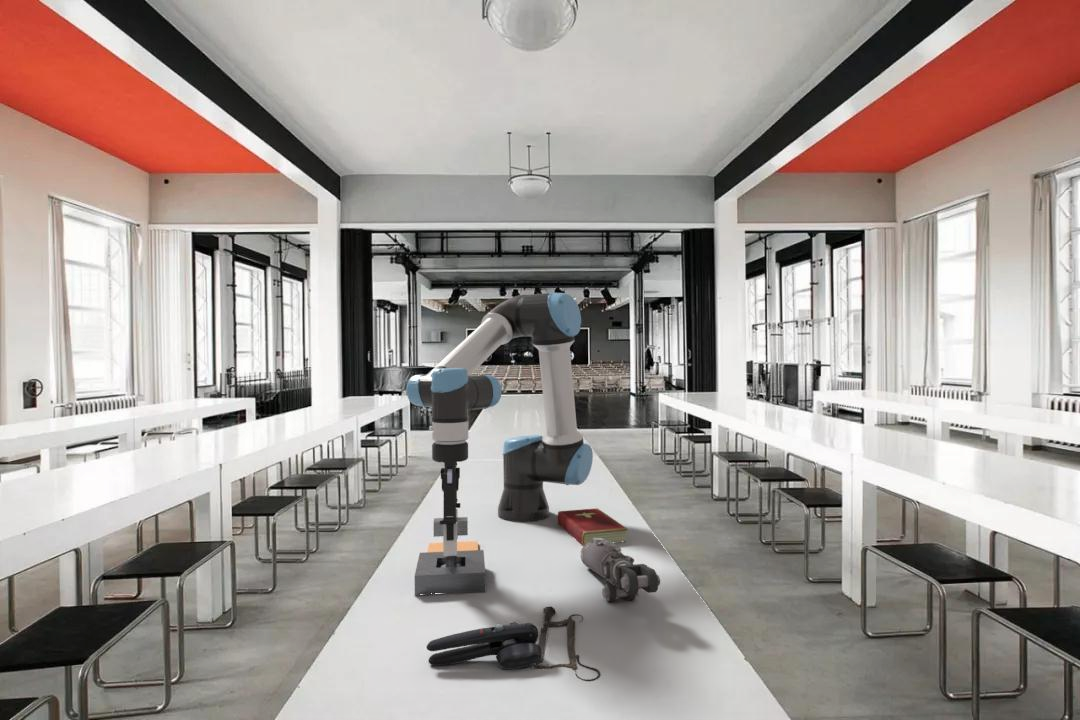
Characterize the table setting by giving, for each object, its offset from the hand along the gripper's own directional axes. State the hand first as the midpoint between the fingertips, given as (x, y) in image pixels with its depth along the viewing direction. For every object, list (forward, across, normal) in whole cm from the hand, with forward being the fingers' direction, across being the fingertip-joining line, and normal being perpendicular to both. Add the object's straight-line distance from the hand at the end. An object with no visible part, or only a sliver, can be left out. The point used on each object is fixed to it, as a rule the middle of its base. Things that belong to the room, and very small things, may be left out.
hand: (450, 546), depth 130 cm
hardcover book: (+8, -30, +36) cm, 47 cm away
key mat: (+7, -18, 0) cm, 19 cm away
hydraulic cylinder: (+8, +9, +33) cm, 35 cm away
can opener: (+7, +35, +6) cm, 36 cm away
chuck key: (+7, 0, 0) cm, 7 cm away
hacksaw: (+8, +30, +20) cm, 37 cm away
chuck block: (+7, 0, 0) cm, 7 cm away
